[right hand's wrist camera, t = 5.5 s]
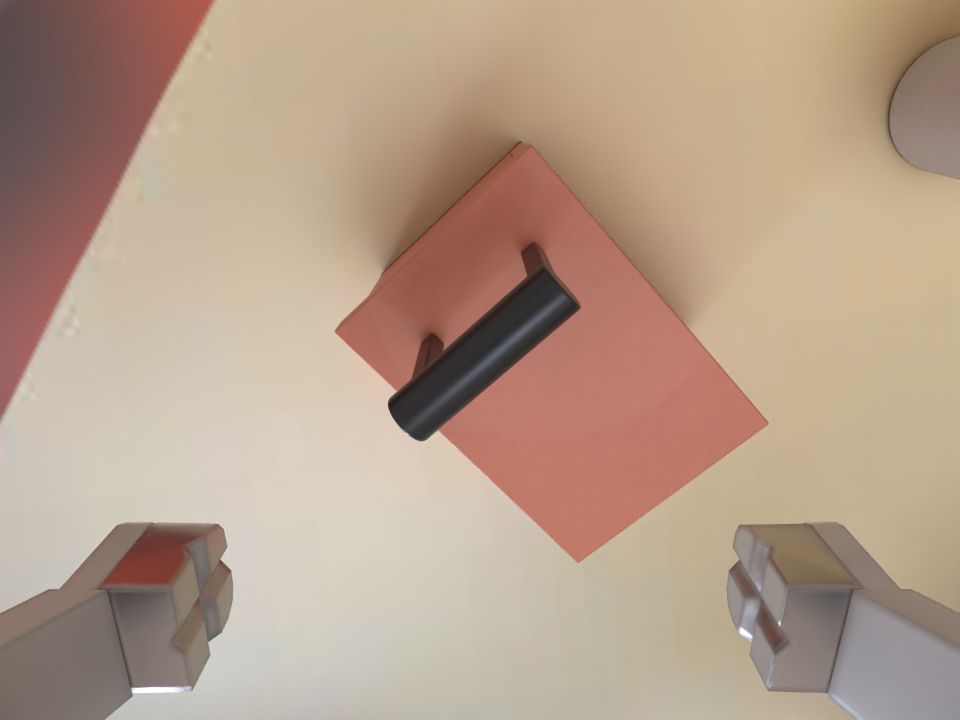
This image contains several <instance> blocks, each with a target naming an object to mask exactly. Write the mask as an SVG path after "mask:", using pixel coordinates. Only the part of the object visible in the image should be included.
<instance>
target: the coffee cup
mask: <svg viewBox="0 0 960 720" xmlns="http://www.w3.org/2000/svg"><path fill="white" fill-rule="evenodd" d="M889 120H890V132H891V136H892V139H893V142H894V145H895V147H896V148H897V150H898V152H899V153H900V154H901V156H902V157H903V158H904V159H905V160H906V161H908V162H909V163H910V164H912V165H913V166H915V167H917V168H920V169H922V170H926V171H929V172H933V173H937V174H940V175H944V176H948V177H951V178H955V179H959V180H960V36H957V37H954V38H951V39H948V40H945V41H943V42H941V43H939V44H937V45H935V46H934V47H932V48H930V49H929V50H928V51H926V52H925V53H924V54H922V55H921V56H920V57H919V58H918V59H917V60H916V61H915V62H914V63H913V64H912V65H911V66H910V68H909V69H908V70H907V72H906V73H905V74H904V76H903V78H902V79H901V81H900V83H899V85H898V87H897V89H896V91H895V94H894V97H893V100H892V104H891V109H890V119H889Z"/></svg>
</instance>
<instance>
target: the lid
mask: <svg viewBox="0 0 960 720" xmlns="http://www.w3.org/2000/svg"><path fill="white" fill-rule="evenodd" d="M335 333H336V334H337V335H338V336H339V337H340V338H341V339H342V340H343V341H345V342H346V343H347V344H348V345H349V346H350V347H351V348H352V349H353V350H354V351H355V352H356V353H357V354H358V355H359V356H360V357H361V358H362V359H363V360H365V361H366V362H367V363H368V364H369V365H370V366H371V367H372V368H373V369H374V370H375V371H376V372H377V373H378V374H379V375H380V376H381V377H382V378H383V379H385V380H386V381H387V382H388V383H389V384H390V385H391V386H392V387H393V388H394V389H395V390H396V391H397V392H396V393H395V394H394V395H393V396H392V397H391V398H390V399H389V401H388V408H389V411H390V413H391V415H392V417H393V419H394V420H395V422H396V423H397V424H398V425H399V427H400V428H401V429H402V430H403V431H404V432H405V433H406V434H408V435H409V436H410V437H412V438H413V439H415V440H418V441H425V440H427V439H428V438H429V437H430V436H431V435H433V434H434V433H435V432H436V431H437V430H438V431H439V432H440V433H441V434H442V435H444V436H445V437H446V438H447V439H448V440H449V441H450V442H451V443H452V444H453V445H454V446H455V447H456V448H457V449H458V450H459V451H460V452H461V453H462V454H464V455H465V456H466V457H467V458H468V459H469V460H470V461H471V462H472V463H473V464H474V465H475V466H476V467H477V468H478V469H479V470H480V471H481V472H482V473H484V474H485V475H486V476H487V477H488V478H489V479H490V480H491V481H492V482H493V483H494V484H495V485H496V486H497V487H498V488H499V489H500V490H501V491H502V492H504V493H505V494H506V495H507V496H508V497H509V498H510V499H511V500H512V501H513V502H514V503H515V504H516V505H517V506H518V507H519V508H520V509H521V510H523V511H524V512H525V513H526V514H527V515H528V516H529V517H530V518H531V519H532V520H533V521H534V522H535V523H536V524H537V525H538V526H539V527H540V528H541V529H543V530H544V531H545V532H546V533H547V534H548V535H549V536H550V537H551V538H552V539H553V540H554V541H555V542H556V543H557V544H558V545H559V546H560V547H561V548H563V549H564V550H565V551H566V552H567V553H568V554H569V555H570V556H571V557H572V558H573V559H574V560H575V561H576V562H577V563H579V562H580V561H582V560H583V559H584V558H586V557H587V556H588V555H590V554H591V553H593V552H594V551H595V550H597V549H598V548H599V547H601V546H602V545H604V544H605V543H606V542H608V541H609V540H610V539H612V538H613V537H614V536H616V535H617V534H619V533H620V532H621V531H623V530H624V529H625V528H627V527H628V526H630V525H631V524H632V523H634V522H635V521H636V520H638V519H639V518H641V517H642V516H643V515H645V514H646V513H647V512H649V511H650V510H651V509H653V508H654V507H656V506H657V505H658V504H660V503H661V502H662V501H664V500H665V499H667V498H668V497H669V496H671V495H672V494H673V493H675V492H676V491H678V490H679V489H680V488H682V487H683V486H684V485H686V484H687V483H688V482H690V481H691V480H693V479H694V478H695V477H697V476H698V475H699V474H701V473H702V472H704V471H705V470H706V469H708V468H709V467H710V466H712V465H713V464H715V463H716V462H717V461H719V460H720V459H721V458H723V457H724V456H725V455H727V454H728V453H730V452H731V451H732V450H734V449H735V448H736V447H738V446H739V445H741V444H742V443H743V442H745V441H746V440H747V439H749V438H750V437H752V436H753V435H754V434H756V433H757V432H758V431H760V430H761V429H762V428H764V427H765V426H767V425H768V421H767V420H766V419H765V418H764V417H763V416H762V414H761V413H760V412H759V411H758V410H757V408H756V407H755V406H754V405H753V404H752V403H751V401H750V400H749V399H748V398H747V397H746V396H745V394H744V393H743V392H742V391H741V390H740V389H739V387H738V386H737V385H736V384H735V383H734V382H733V380H732V379H731V378H730V377H729V376H728V374H727V373H726V372H725V371H724V370H723V369H722V367H721V366H720V365H719V364H718V363H717V362H716V360H715V359H714V358H713V357H712V356H711V355H710V353H709V352H708V351H707V350H706V349H705V348H704V346H703V345H702V344H701V343H700V342H699V340H698V339H697V338H696V337H695V336H694V335H693V333H692V332H691V331H690V330H689V329H688V328H687V326H686V325H685V324H684V323H683V322H682V321H681V319H680V318H679V317H678V316H677V315H676V314H675V312H674V311H673V310H672V309H671V308H670V306H669V305H668V304H667V303H666V302H665V301H664V299H663V298H662V297H661V296H660V295H659V294H658V292H657V291H656V290H655V289H654V288H653V287H652V285H651V284H650V283H649V282H648V281H647V280H646V278H645V277H644V276H643V275H642V274H641V273H640V271H639V270H638V269H637V268H636V267H635V265H634V264H633V263H632V262H631V261H630V260H629V258H628V257H627V256H626V255H625V254H624V253H623V251H622V250H621V249H620V248H619V247H618V246H617V244H616V243H615V242H614V241H613V240H612V239H611V237H610V236H609V235H608V234H607V233H606V231H605V230H604V229H603V228H602V227H601V226H600V224H599V223H598V222H597V221H596V220H595V219H594V217H593V216H592V215H591V214H590V213H589V212H588V210H587V209H586V208H585V207H584V206H583V205H582V203H581V202H580V201H579V200H578V199H577V197H576V196H575V195H574V194H573V193H572V192H571V190H570V189H569V188H568V187H567V186H566V185H565V183H564V182H563V181H562V180H561V179H560V178H559V176H558V175H557V174H556V173H555V172H554V171H553V169H552V168H551V167H550V166H549V165H548V163H547V162H546V161H545V160H544V159H543V158H542V156H541V155H540V154H539V153H538V152H537V151H536V149H535V148H534V147H533V146H532V145H530V144H528V145H527V146H526V147H525V148H524V149H523V150H522V151H521V152H519V153H518V154H517V155H516V156H515V157H514V158H513V159H512V160H511V161H510V162H509V163H508V164H507V165H506V166H505V167H504V168H503V169H502V170H501V171H500V172H498V173H497V174H496V175H495V176H494V177H493V178H492V179H491V180H490V181H489V182H488V183H487V184H486V185H485V186H484V187H483V188H482V189H481V190H480V191H478V192H477V193H476V194H475V195H474V196H473V197H472V198H471V199H470V200H469V201H468V202H467V203H466V204H465V205H464V206H463V207H462V208H461V209H460V210H459V211H457V212H456V213H455V214H454V215H453V216H452V217H451V218H450V219H449V220H448V221H447V222H446V223H445V224H444V225H443V226H442V227H441V228H440V229H439V230H437V231H436V232H435V233H434V234H433V235H432V236H431V237H430V238H429V239H428V240H427V241H426V242H425V243H424V244H423V245H422V246H421V247H420V248H419V249H417V250H416V251H415V252H414V253H413V254H412V255H411V256H410V257H409V258H408V259H407V260H406V261H405V262H404V263H403V264H402V265H401V266H400V267H399V268H398V269H396V270H395V271H394V272H393V273H392V274H391V275H390V276H389V277H388V278H387V279H386V280H385V281H384V282H383V283H382V284H381V285H380V286H379V287H378V288H376V289H375V290H374V291H373V292H372V293H371V294H370V295H369V296H368V297H367V298H366V299H365V300H364V301H363V302H362V303H361V304H360V305H359V306H358V307H357V308H355V309H354V310H353V311H352V312H351V313H350V314H349V315H348V316H347V317H346V318H345V319H344V320H343V321H342V322H341V323H340V324H339V326H338V327H337V329H336V330H335Z"/></svg>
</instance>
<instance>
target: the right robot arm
mask: <svg viewBox="0 0 960 720" xmlns="http://www.w3.org/2000/svg"><path fill="white" fill-rule="evenodd" d="M226 548H227V543H226V538H225V533H224V529H223V528H222V527H221V526H220V525H219V524H198V523H152V522H142V523H123V524H119V525H117V526H116V527H115V528H114V529H113V530H112V531H111V532H110V533H109V535H108V536H107V537H106V538H105V539H104V540H103V541H102V542H101V543H100V545H99V546H98V547H97V548H96V549H95V550H94V551H93V552H92V553H91V555H90V556H89V557H88V558H87V559H86V560H85V561H84V562H83V563H82V565H81V566H80V567H79V568H78V569H77V570H76V571H75V572H74V573H73V575H72V576H71V577H70V578H69V579H68V580H67V581H66V582H65V584H64V585H63V586H62V587H61V588H60V589H49V590H47V591H45V592H43V593H41V594H39V595H37V596H35V597H33V598H31V599H29V600H27V601H25V602H23V603H21V604H18V605H16V606H14V607H12V608H10V609H8V610H6V611H4V612H2V613H0V720H105V719H106V718H107V717H108V716H109V715H111V714H112V713H113V712H114V711H115V710H116V709H118V708H119V707H120V706H121V705H122V704H124V703H125V702H126V701H127V700H128V699H130V698H131V697H132V693H145V692H180V691H192V690H193V688H194V686H195V684H196V682H197V680H198V678H199V676H200V674H201V673H202V671H203V669H204V667H205V665H206V663H207V661H208V659H209V657H210V650H209V645H208V642H209V641H210V640H212V639H213V638H215V637H216V636H217V635H219V634H220V633H222V631H223V629H224V627H225V624H226V622H227V620H228V618H229V614H230V609H231V605H232V600H233V580H232V573H231V570H230V569H229V568H228V567H227V566H226V565H225V564H224V563H223V562H222V561H221V560H220V559H221V557H222V555H223V554H224V552H225V550H226ZM733 548H734V550H735V552H736V554H737V555H738V557H739V559H740V560H739V561H738V562H737V563H736V564H735V565H734V566H733V567H732V568H731V569H730V570H729V574H728V582H727V597H728V607H729V610H730V614H731V617H732V620H733V622H734V624H735V627H736V629H737V631H738V633H740V634H741V635H743V636H744V637H745V638H747V639H748V640H750V641H751V642H752V645H751V650H750V657H751V659H752V661H753V663H754V665H755V667H756V669H757V670H758V672H759V674H760V676H761V678H762V680H763V682H764V684H765V686H766V688H767V690H768V691H779V692H814V693H828V695H827V696H828V697H830V698H831V699H832V700H833V701H834V702H835V703H837V704H838V705H839V706H840V707H841V708H843V709H844V710H845V711H846V712H847V713H849V714H850V715H851V716H852V717H853V718H855V719H856V720H960V614H959V613H957V612H955V611H953V610H951V609H949V608H947V607H945V606H943V605H941V604H939V603H937V602H935V601H933V600H931V599H929V598H927V597H925V596H923V595H921V594H919V593H917V592H915V591H913V590H911V589H900V588H899V587H898V586H897V585H896V584H895V582H894V581H893V580H892V579H891V578H890V577H889V576H888V575H887V574H886V572H885V571H884V570H883V569H882V568H881V567H880V566H879V565H878V564H877V562H876V561H875V560H874V559H873V558H872V557H871V556H870V555H869V553H868V552H867V551H866V550H865V549H864V548H863V547H862V546H861V545H860V543H859V542H858V541H857V540H856V539H855V538H854V537H853V536H852V535H851V533H850V532H849V531H848V530H847V529H846V528H845V527H844V526H843V525H841V524H839V523H836V522H822V523H803V524H757V525H739V526H738V529H737V531H736V533H735V537H734V542H733Z"/></svg>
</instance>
